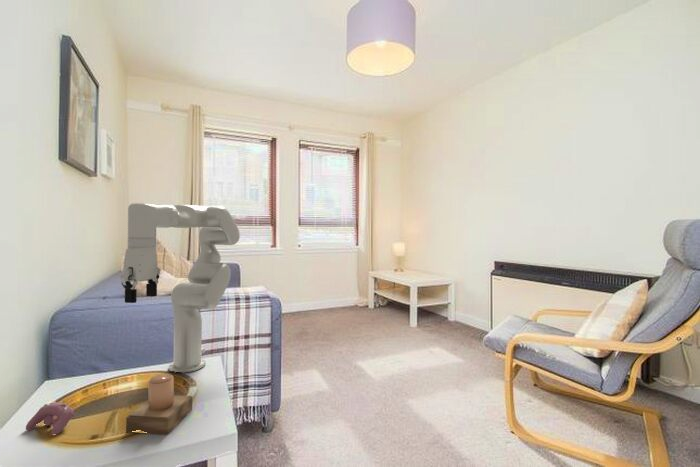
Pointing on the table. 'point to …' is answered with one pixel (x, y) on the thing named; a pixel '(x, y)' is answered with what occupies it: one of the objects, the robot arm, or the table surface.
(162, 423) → the walnut block
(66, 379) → the table surface
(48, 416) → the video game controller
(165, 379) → the canister
